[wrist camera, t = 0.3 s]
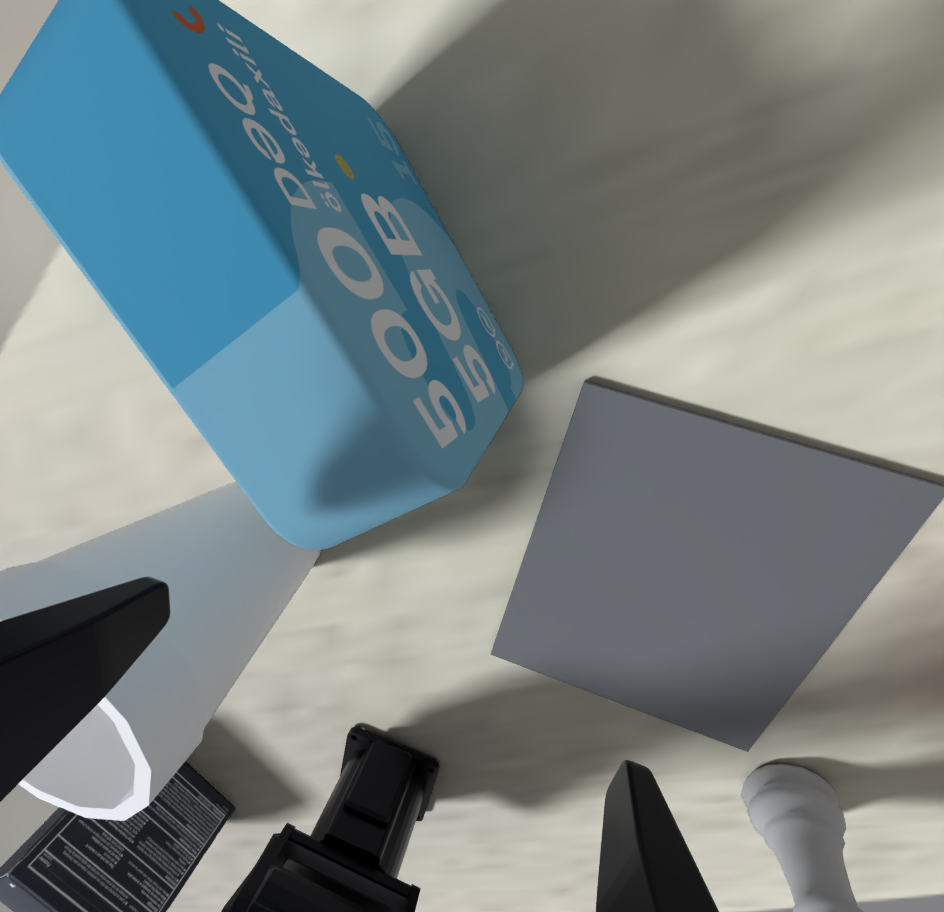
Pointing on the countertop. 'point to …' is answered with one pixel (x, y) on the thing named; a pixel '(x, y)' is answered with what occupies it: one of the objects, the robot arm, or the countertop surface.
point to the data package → (262, 257)
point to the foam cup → (162, 642)
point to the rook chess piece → (802, 834)
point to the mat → (699, 562)
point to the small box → (117, 854)
